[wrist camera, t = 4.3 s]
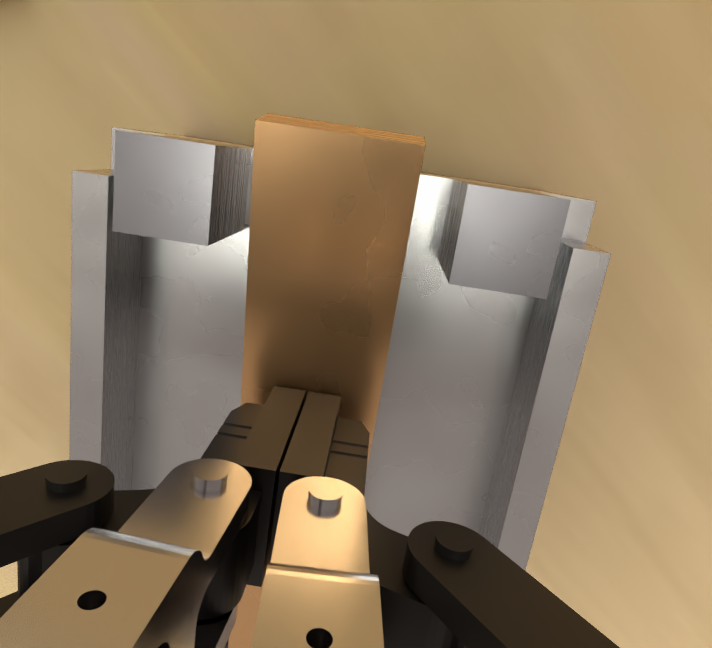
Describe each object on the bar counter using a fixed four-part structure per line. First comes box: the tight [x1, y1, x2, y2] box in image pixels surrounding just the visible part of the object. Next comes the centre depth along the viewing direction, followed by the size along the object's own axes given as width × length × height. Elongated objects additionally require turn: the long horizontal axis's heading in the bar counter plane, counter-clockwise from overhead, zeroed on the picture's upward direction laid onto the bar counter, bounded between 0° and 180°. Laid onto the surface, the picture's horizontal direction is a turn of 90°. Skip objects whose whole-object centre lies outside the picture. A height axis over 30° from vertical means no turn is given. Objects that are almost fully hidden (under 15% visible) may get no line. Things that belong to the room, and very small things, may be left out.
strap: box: [224, 113, 425, 648], centre depth 14 cm, size 17×4×2 cm, turn 171°
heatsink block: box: [70, 127, 611, 642], centre depth 17 cm, size 16×12×8 cm
